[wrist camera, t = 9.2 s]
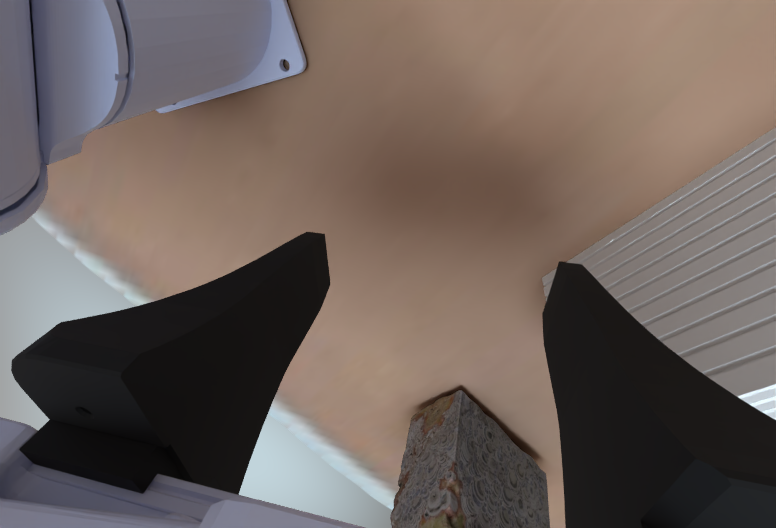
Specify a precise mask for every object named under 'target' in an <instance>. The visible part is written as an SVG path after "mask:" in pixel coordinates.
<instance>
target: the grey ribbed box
mask: <svg viewBox="0 0 776 528" xmlns="http://www.w3.org/2000/svg"><path fill="white" fill-rule="evenodd" d="M567 263H576V264H582V265H583V266H584V267H585V268H586V269H587V270H588V271H589V272H590V273H591V274H592V275H593V276H594V277H595V278H596V279H597V280H598V282H599V283H600V284H601V285H602V286H603V287H604V288H605V289H606V290H607V291H608V292H609V293H610V294H611V295H612V296H613V297H614V298H615V299H616V300H617V301H618V302H619V303H620V304H621V305H622V306H623V307H624V308H625V309H626V310H627V311H628V312H629V313H630V314H631V315H632V316H633V317H634V318H635V319H636V320H637V321H638V322H639V323H640V324H642V325H643V326H644V327H645V328H646V329H647V330H648V331H649V332H651V333H652V334H653V335H654V336H655V337H656V338H657V339H659V340H660V341H661V342H662V343H663V344H665V345H666V346H667V347H668V348H670V349H671V350H672V351H673V352H675V353H676V354H677V355H679V356H680V357H681V358H682V359H684V360H685V361H686V362H688V363H689V364H690V365H692V366H693V367H694V368H696V369H697V370H699V371H700V372H701V373H703V374H704V375H706V376H707V377H708V378H710V379H711V380H713V381H714V382H716V383H717V384H719V385H720V386H722V387H723V388H725V389H726V390H728V391H729V392H731V393H732V394H734V395H735V396H737V397H738V398H740V399H742V400H743V401H745V402H746V403H748V404H750V405H751V406H753V407H755V408H756V409H758V410H759V411H761V412H763V413H764V414H766V415H768V416H770V417H771V418H773V419H775V420H776V127H775V128H773V129H772V130H770V131H769V132H767V133H766V134H764V135H762V136H761V137H759V138H758V139H756V140H755V141H753V142H752V143H750V144H749V145H747V146H745V147H744V148H742V149H741V150H739V151H738V152H736V153H735V154H733V155H731V156H730V157H728V158H727V159H725V160H724V161H722V162H721V163H719V164H717V165H716V166H714V167H713V168H711V169H710V170H708V171H707V172H705V173H704V174H702V175H700V176H699V177H697V178H696V179H694V180H693V181H691V182H690V183H688V184H686V185H685V186H683V187H682V188H680V189H679V190H677V191H676V192H674V193H672V194H671V195H669V196H668V197H666V198H665V199H663V200H662V201H660V202H659V203H657V204H655V205H654V206H652V207H651V208H649V209H648V210H646V211H645V212H643V213H641V214H640V215H638V216H637V217H635V218H634V219H632V220H631V221H629V222H627V223H626V224H624V225H623V226H621V227H620V228H618V229H617V230H615V231H614V232H612V233H610V234H609V235H607V236H606V237H604V238H603V239H601V240H600V241H598V242H596V243H595V244H593V245H592V246H590V247H589V248H587V249H586V250H584V251H583V252H581V253H579V254H578V255H576V256H575V257H573V258H572V259H570V260H569V261H567ZM556 270H557V268H556V269H555V270H553V271H551V272H550V273H548V274H547V275H545V276H544V277H542V282H543V285H544V286H545V287H543V288H544V293H545V296H546V297H547V298H548V295H549V292H550V289H551V286H552V282H553V279H554V276H555V273H556ZM547 298H545V299H546V301H547Z"/></svg>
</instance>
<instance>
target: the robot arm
mask: <svg viewBox="0 0 776 528" xmlns="http://www.w3.org/2000/svg"><path fill="white" fill-rule="evenodd" d="M284 59H285V60H287V61H288V62H289V65H290V68H289V70H287V69H285V68H284V66H283V61H284ZM306 64H307V63H306V58H305V55H304V52H303V49H302V46H301V43H300V40H299V37H298V34H297V31H296V28H295V25H294V22H293V19H292V16H291V13H290V10H289V7H288V4H287V1H286V0H0V235H3V234H4V233H7V232H9V231H11V230H12V229H14V228H15V227H17V226H19V225H20V224H22V223H24V222H25V221H26V220H27V219H28V218H29V217H31V216H32V215H33V214H34V213H35V212H36V211H37V209H38V208H39V207H40V205H41V204H42V202H43V201H44V198H45V195H46V192H47V189H48V174H47V166H46V165H49V164H51V163H54V162H57V161H59V160H62V159H65V158H67V157H70V156H73V155H75V154H78V153H80V152H81V148H82V142H83V140H84V138H85V137H86V136H87V134H89V133H90V132H92V131H94V130H96V129H100V128H103V127H106V126H109V125H112V124H115V123H118V122H121V121H124V120H127V119H129V118H132V117H135V116H138V115H141V114H144V113H147V112H150V111H153V110H156V111H157V112H159V113H166V112H170V111H173V110H177V109H180V108H183V107H187V106H190V105H194V104H197V103H201V102H204V101H207V100H211V99H214V98H218V97H221V96H225V95H228V94H231V93H235V92H238V91H242V90H245V89H249V88H252V87H255V86H259V85H262V84H266V83H269V82H272V81H276V80H279V79H283V78H286V77H290V76H293V75H296V74H299V73H301V72H303V71H304V70H305V68H306ZM329 286H330V276H329V267H328V259H327V250H326V241H325V234H321V233H313V232H306V233H304V234H302V235H300V236H298V237H296V238H294V239H292V240H290V241H289V242H287V243H285V244H283V245H282V246H280V247H278V248H276V249H275V250H273V251H271V252H269V253H267V254H266V255H264V256H262V257H260V258H259V259H257V260H255V261H253V262H251V263H249V264H247V265H245V266H243V267H241V268H239V269H237V270H235V271H233V272H231V273H229V274H227V275H225V276H223V277H220V278H218V279H216V280H213V281H211V282H209V283H206V284H204V285H201V286H199V287H196V288H193V289H191V290H188V291H185V292H182V293H179V294H176V295H173V296H170V297H167V298H164V299H161V300H158V301H154V302H151V303H147V304H144V305H140V306H136V307H132V308H129V309H124V310H120V311H116V312H112V313H107V314H102V315H97V316H92V317H87V318H82V319H77V320H72V321H66V322H61V323H59V324H58V325H56V326H55V327H54V328H53V329H51V330H50V331H49V332H47V333H46V334H45V335H43V336H42V337H41V338H39V339H38V340H37V341H35V342H34V343H33V344H31V345H30V346H29V347H27V348H26V349H25V350H23V351H22V352H21V353H19V354H18V355H17V356H16V357H15V358H14V359H13V360H12V369H11V371H12V374H13V376H14V378H15V380H16V381H17V382H18V384H19V385H20V387H21V388H22V389H23V390H24V391H25V392H26V394H28V396H29V397H30V398H31V399H32V400H33V401H34V402H35V404H36V405H37V406H38V407H39V408H40V409H41V410H42V412H43V413H44V414H45V415H46V416H47V417H48V418H49V419H50V420H49V421H48V422H47V423H46V424H45V425H44V426H43V427H42V428H41V429H40V430H39V431H37V430H36V429H34V428H33V427H31V426H29V425H27V424H24V423H20V422H16V421H12V420H8V419H5V418H1V417H0V528H364V527H361V526H357V525H353V524H349V523H345V522H342V521H338V520H334V519H330V518H326V517H322V516H319V515H314V514H311V513H307V512H303V511H299V510H295V509H292V508H288V507H284V506H280V505H276V504H273V503H269V502H265V501H261V500H256V499H252V498H249V497H245V496H241V495H238V494H239V491H240V488H241V485H242V482H243V479H244V476H245V473H246V470H247V467H248V464H249V461H250V459H251V456H252V453H253V451H254V448H255V445H256V442H257V440H258V437H259V434H260V432H261V429H262V426H263V424H264V421H265V419H266V417H267V414H268V412H269V409H270V407H271V404H272V402H273V399H274V397H275V395H276V392H277V390H278V388H279V385H280V383H281V381H282V378H283V376H284V374H285V372H286V370H287V368H288V366H289V364H290V362H291V360H292V359H293V357H294V355H295V353H296V352H297V350H298V348H299V346H300V345H301V343H302V341H303V339H304V338H305V336H306V334H307V332H308V331H309V329H310V327H311V325H312V324H313V322H314V320H315V318H316V316H317V315H318V313H319V311H320V309H321V307H322V304H323V302H324V299H325V297H326V294H327V291H328V289H329ZM543 337H544V347H545V352H546V357H547V363H548V368H549V373H550V378H551V383H552V388H553V393H554V398H555V403H556V408H557V414H558V421H559V429H560V441H561V453H562V467H563V482H564V499H565V523H566V528H776V420H775V419H773V418H771V417H770V416H768V415H766V414H764V413H763V412H761V411H759V410H758V409H756V408H755V407H753V406H751V405H750V404H748V403H746V402H745V401H743V400H742V399H740V398H738V397H737V396H735V395H734V394H732V393H731V392H729V391H728V390H726V389H725V388H723V387H722V386H720V385H719V384H717V383H716V382H714V381H713V380H711V379H710V378H708V377H707V376H706V375H704V374H703V373H701V372H700V371H699V370H697V369H696V368H694V367H693V366H692V365H690V364H689V363H688V362H686V361H685V360H684V359H682V358H681V357H680V356H679V355H677V354H676V353H675V352H673V351H672V350H671V349H670V348H668V347H667V346H666V345H665V344H663V343H662V342H661V341H660V340H659V339H657V338H656V337H655V336H654V335H653V334H652V333H651V332H649V331H648V330H647V329H646V328H645V327H644V326H643V325H642V324H640V323H639V322H638V321H637V320H636V319H635V318H634V317H633V316H632V315H631V314H630V313H629V312H628V311H627V310H626V309H625V308H624V307H623V306H622V305H621V304H620V303H619V302H618V301H617V300H616V299H615V298H614V297H613V296H612V295H611V294H610V293H609V292H608V291H607V290H606V289H605V288H604V287H603V286H602V285H601V284H600V283H599V282H598V280H597V279H596V278H595V277H594V276H593V275H592V274H591V273H590V272H589V271H588V270H587V269H586V268H585V267H584V266H583V265H582V264H576V263H567V262H559V263H558V267H557V270H556V273H555V276H554V279H553V282H552V286H551V289H550V292H549V295H548V298H547V301H546V305H545V308H544V311H543Z"/></svg>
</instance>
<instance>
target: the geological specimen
mask: <svg viewBox="0 0 776 528" xmlns="http://www.w3.org/2000/svg"><path fill="white" fill-rule="evenodd" d="M398 485H399V487H400V488H399V491H398V492H397V494H396V495H395V499H394V508H393V511H392V513H391V524H392V528H550V521H549V507H548V491H547V479H546V473H544V472H543V471H542V470H541V469H540V468H539V466H538V465H537V464H536V463H535V461H534V460H533V458H532V457H531V456H530V455H528V454H526V453H525V452H523V451H521V450H520V448H519V447H518V446H516V445H515V444H514V443H513V442H512V441H511V439H510V438H509V437H508V436H507V434H506V433H505V432H504V431H503V429H501V428H500V427H499V425H498V424H497V423H496V422H495V421H494V420H493V419H492V418H490V417H488V416H487V415H485V414H484V413H483V412H482V410H481V409H480V407H479V406H478V405H477V404H475V403H474V402H473V401H472V400H470V399H469V397H468V396H467V395H466V394H465V393H464V392H463V391H462V390H459V391H456V392H455V393H454V394H452V395H450V396H446V397H442V398H440V399H438V400H437V401H435V403H434V404H431V405H429V406H428V407H426V408H424V409H422V410H421V411H420V412H418V413H417V414H415V415H414V416H413V417H412V419H411V424H410V428H409V433H408V438H407V444H406V450H405V452H404V455H403V460H402V465H401V473H400V477H399V481H398Z"/></svg>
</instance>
